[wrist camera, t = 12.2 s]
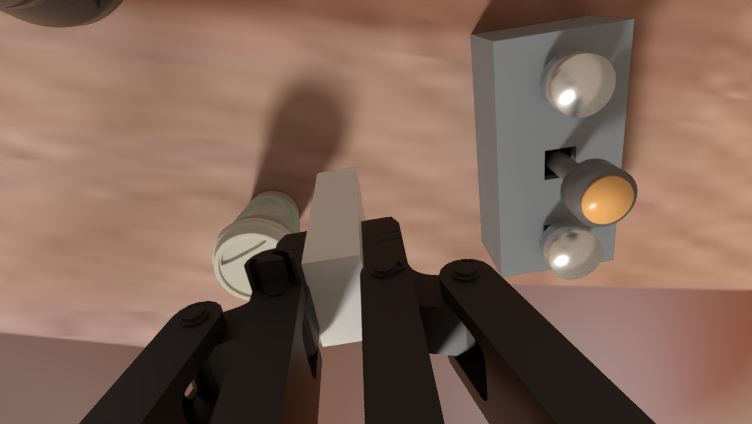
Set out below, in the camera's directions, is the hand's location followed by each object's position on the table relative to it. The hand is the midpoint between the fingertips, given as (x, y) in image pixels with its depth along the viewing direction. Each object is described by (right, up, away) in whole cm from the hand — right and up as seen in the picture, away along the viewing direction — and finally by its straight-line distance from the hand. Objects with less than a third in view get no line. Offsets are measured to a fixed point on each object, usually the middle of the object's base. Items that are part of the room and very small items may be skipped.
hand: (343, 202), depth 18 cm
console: (+18, +8, +33) cm, 39 cm away
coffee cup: (-11, 0, +36) cm, 37 cm away
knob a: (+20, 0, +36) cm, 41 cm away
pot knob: (+19, +5, +28) cm, 34 cm away
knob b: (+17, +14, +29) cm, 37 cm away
